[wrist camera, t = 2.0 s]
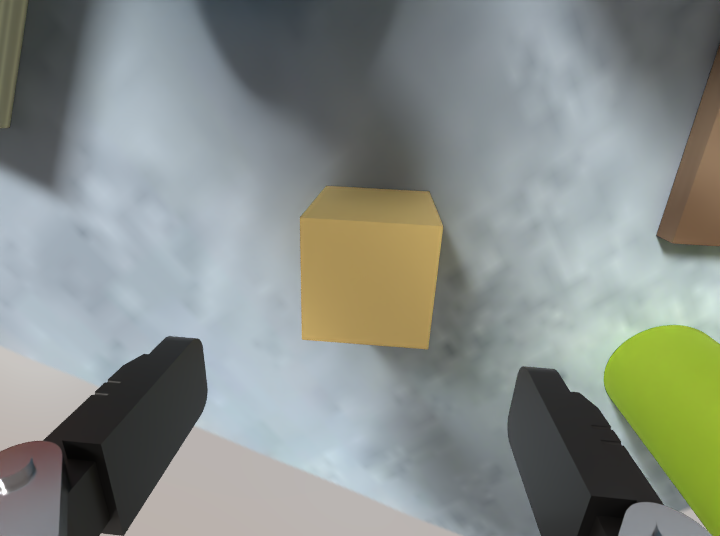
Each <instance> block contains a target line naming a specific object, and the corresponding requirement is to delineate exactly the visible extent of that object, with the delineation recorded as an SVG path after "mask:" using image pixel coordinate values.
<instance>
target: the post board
mask: <svg viewBox="0 0 720 536" xmlns="http://www.w3.org/2000/svg"><path fill="white" fill-rule="evenodd" d="M657 236H659V237H661V238H663V239H665V240H667V241H669V242H671V243H675V244H691V245H708V246H720V45H719V48H718V51H717V54H716V57H715V60H714V63H713V66H712V69H711V72H710V75H709V78H708V81H707V84H706V87H705V90H704V93H703V96H702V99H701V102H700V105H699V108H698V111H697V114H696V117H695V120H694V123H693V126H692V129H691V132H690V135H689V138H688V141H687V145H686V148H685V151H684V154H683V157H682V160H681V163H680V166H679V169H678V172H677V175H676V178H675V181H674V184H673V187H672V190H671V193H670V196H669V199H668V202H667V205H666V208H665V211H664V214H663V217H662V220H661V223H660V226H659V229H658V232H657Z"/></svg>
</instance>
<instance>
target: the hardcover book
mask: <svg viewBox="0 0 720 536" xmlns="http://www.w3.org/2000/svg"><path fill="white" fill-rule="evenodd" d="M28 1H29V0H0V128H10V122H11V116H12V109H13V102H14V95H15V89H16V82H17V75H18V68H19V62H20V55H21V48H22V41H23V34H24V28H25V21H26V14H27V7H28Z"/></svg>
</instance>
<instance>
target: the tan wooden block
mask: <svg viewBox="0 0 720 536" xmlns="http://www.w3.org/2000/svg"><path fill="white" fill-rule="evenodd" d="M442 232H443V225H442V222H441V220H440V217H439V215H438V212H437V210H436V207H435V205H434V202H433V200H432V197H431V195H430V192H429V191H411V190H393V189H375V188H357V187H339V186H326V187H325V188H324V189H323V190H322V192H321V193H320V194H319V195H318V196H317V198H316V199H315V200H314V201H313V202H312V204H311V205H310V206H309V207H308V209H307V210H306V211H305V212H304V213H303V215H302V216H301V217H300V251H301V312H302V340H314V341H327V342H340V343H353V344H366V345H379V346H391V347H404V348H417V349H428V346H429V338H430V330H431V322H432V314H433V305H434V297H435V289H436V281H437V273H438V264H439V256H440V248H441V240H442Z"/></svg>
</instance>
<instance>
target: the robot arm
mask: <svg viewBox="0 0 720 536" xmlns="http://www.w3.org/2000/svg"><path fill="white" fill-rule="evenodd" d="M206 400H207V380H206V371H205V362H204V354H203V346H202V343H201V341H200V340H199V339H197V338H185V337H173V336H168V337H166V338H165V339H164V340H163V341H162V342H161V343H160V344H159V345H158V346H157V347H156V348H155V349H154V350H153V351H152V352H151V353H150V354H143V355H141V356H140V357H138V358H136V359H134V360H132V361H130V362H129V363H127V364H125V365H123V366H122V367H121V368H120V369H119V370H118V371H117V372H116V373H115V374H113V375H112V376H111V377H110V378H109V379H108V382H107V383H104V384H103V385H102V386H101V387H100V388H99V389H97V390H96V391H95V395H91V396H90V397H89V398H88V399H87V400H86V401H85V402H84V403H83V404H82V405H80V406H79V407H78V408H77V409H76V410H75V411H74V412H73V413H72V414H71V415H70V416H69V417H68V418H67V419H66V420H65V421H63V422H62V423H61V424H60V425H59V426H58V427H57V428H56V429H55V430H54V431H53V432H52V433H51V434H50V435H49V436H48V437H46V438H45V439H44V440H43V441H32V442H26V443H22V444H18V445H15V446H12V447H10V448H7V449H5V450H3V451H1V452H0V536H99V535H100V534H101V533H104V534H113V535H121V536H124V534H125V533H126V531H127V530H128V528H129V526H130V525H131V523H132V522H133V520H134V519H135V517H136V516H137V514H138V512H139V511H140V509H141V508H142V506H143V505H144V503H145V502H146V500H147V498H148V497H149V495H150V494H151V492H152V491H153V489H154V487H155V486H156V484H157V483H158V481H159V480H160V478H161V477H162V475H163V473H164V472H165V470H166V469H167V467H168V466H169V464H170V462H171V461H172V459H173V457H174V456H175V455H176V453H177V451H178V450H179V448H180V447H181V445H182V443H183V442H184V441H185V439H186V437H187V436H188V434H189V433H190V431H191V430H192V428H193V426H194V425H195V423H196V422H197V420H198V419H199V417H200V415H201V414H202V412H203V410H204V407H205V404H206ZM508 438H509V443H510V446H511V449H512V452H513V455H514V458H515V461H516V463H517V466H518V469H519V472H520V475H521V478H522V481H523V484H524V487H525V490H526V493H527V496H528V499H529V501H530V504H531V507H532V510H533V513H534V516H535V519H536V522H537V525H538V528H539V531H540V534H541V536H712V535H711V534H710V533H709V532H708V531H707V530H706V529H705V528H703V527H702V526H701V525H700V524H698V523H697V522H696V521H694V520H693V519H691V518H690V517H688V516H686V515H684V514H683V513H681V512H679V511H677V510H675V509H673V508H670V507H667V506H665V505H664V504H663V503H662V501H661V500H660V498H659V497H658V495H657V494H656V492H655V491H654V490H653V488H652V487H651V485H650V484H649V482H648V481H647V479H646V478H645V476H644V475H643V473H642V472H641V470H640V469H639V467H638V466H637V464H636V463H635V462H634V460H633V459H632V457H631V456H630V454H629V453H628V451H627V450H626V448H625V447H624V446H622V445H621V441H620V439H619V438H618V437H617V435H616V434H615V432H614V431H613V430H611V426H610V425H609V423H608V422H607V420H606V419H605V417H604V416H603V414H602V413H601V411H600V410H599V409H598V408H597V407H596V406H595V405H594V404H592V403H591V402H590V401H589V400H588V399H586V398H585V397H584V396H583V395H581V394H580V393H578V392H570V391H569V389H568V387H567V386H566V384H565V383H564V381H563V379H562V378H561V376H560V375H559V373H558V372H557V371H556V370H555V369H547V368H535V367H521V368H520V370H519V372H518V376H517V380H516V385H515V389H514V394H513V398H512V403H511V407H510V411H509V416H508Z"/></svg>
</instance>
